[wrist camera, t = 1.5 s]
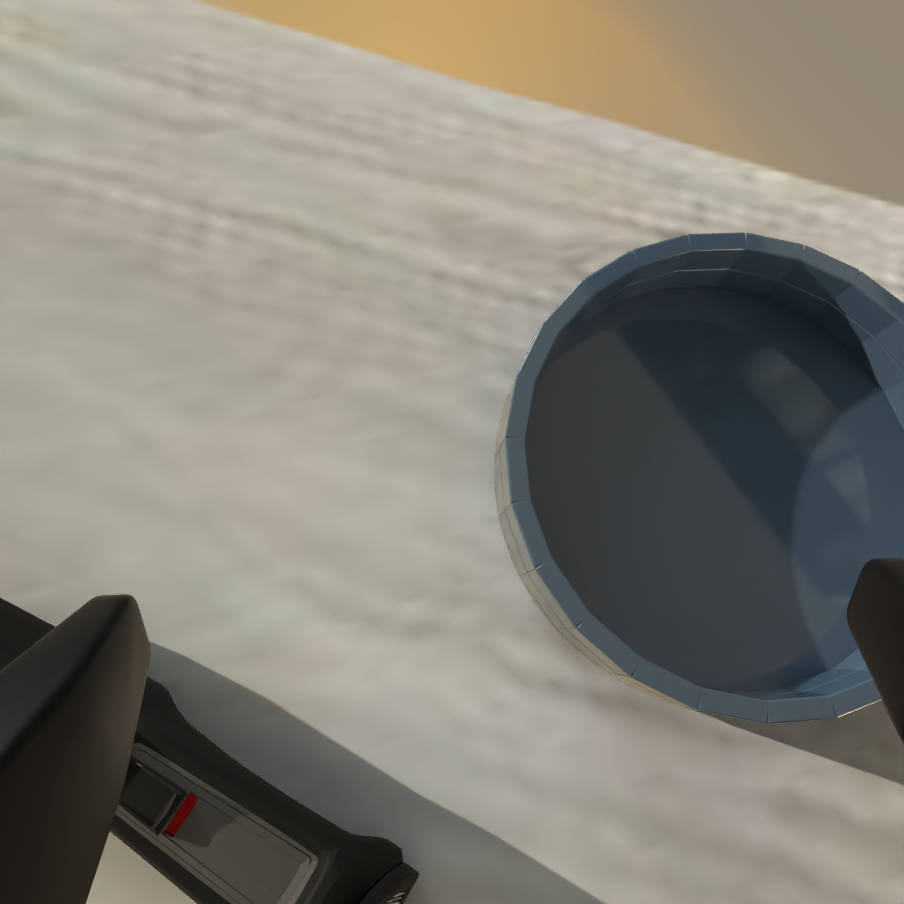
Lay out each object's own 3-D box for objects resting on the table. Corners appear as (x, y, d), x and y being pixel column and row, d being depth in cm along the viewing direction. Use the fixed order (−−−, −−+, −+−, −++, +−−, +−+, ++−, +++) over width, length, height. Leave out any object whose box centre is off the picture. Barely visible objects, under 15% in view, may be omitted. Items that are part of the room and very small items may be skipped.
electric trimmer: (-3, 550, 21) (-74, 536, 18) (428, 857, 20) (430, 898, 17) (-94, 660, 20) (-185, 665, 17) (350, 990, 19) (337, 1060, 16)
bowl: (973, 389, 24) (1050, 356, 21) (849, 796, 21) (920, 823, 18) (597, 214, 25) (622, 160, 22) (417, 578, 22) (418, 570, 19)
